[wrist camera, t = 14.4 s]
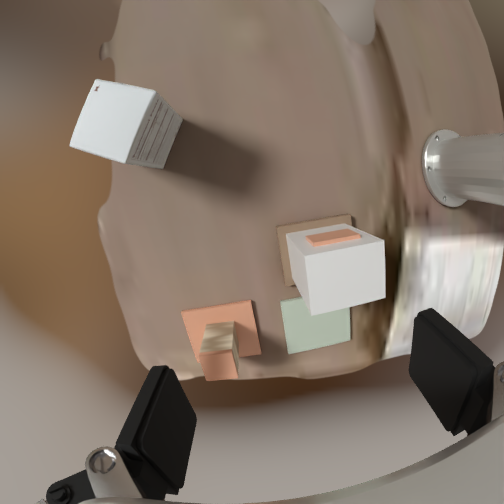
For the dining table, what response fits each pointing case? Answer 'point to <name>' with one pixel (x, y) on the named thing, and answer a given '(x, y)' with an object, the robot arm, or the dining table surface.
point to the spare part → (220, 351)
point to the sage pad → (313, 326)
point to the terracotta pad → (224, 313)
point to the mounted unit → (332, 263)
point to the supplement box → (126, 125)
